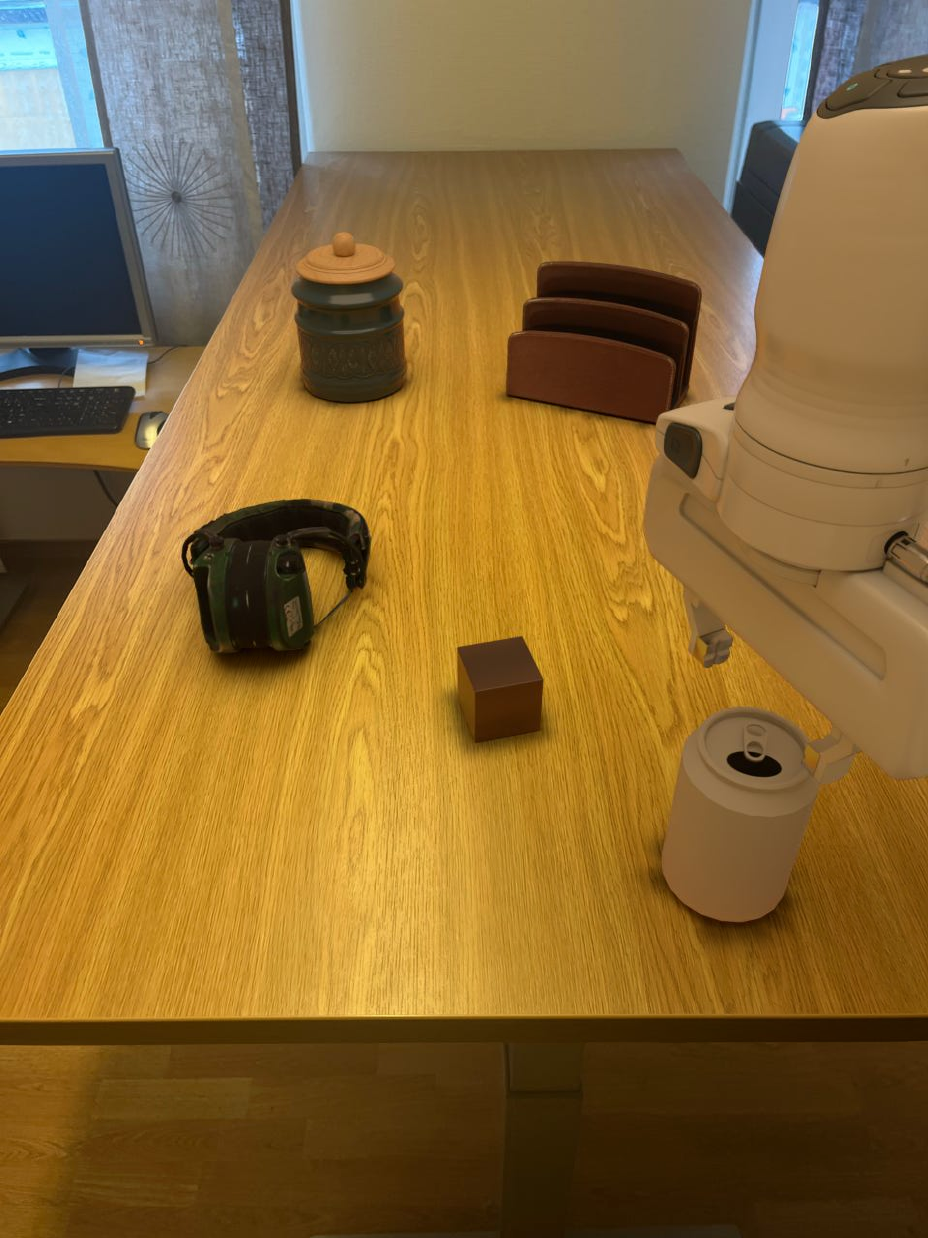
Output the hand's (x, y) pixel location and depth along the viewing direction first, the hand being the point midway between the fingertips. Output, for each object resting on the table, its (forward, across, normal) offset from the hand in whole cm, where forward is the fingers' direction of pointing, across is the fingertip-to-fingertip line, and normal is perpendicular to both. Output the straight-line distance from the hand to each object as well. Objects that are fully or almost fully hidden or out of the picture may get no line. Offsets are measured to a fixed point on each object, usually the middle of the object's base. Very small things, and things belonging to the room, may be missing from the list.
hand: (761, 711), depth 50 cm
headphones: (+15, +39, +17) cm, 45 cm away
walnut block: (+14, +19, +6) cm, 24 cm away
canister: (+15, +79, -4) cm, 80 cm away
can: (+14, 0, 0) cm, 15 cm away
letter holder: (+15, +63, -29) cm, 71 cm away
